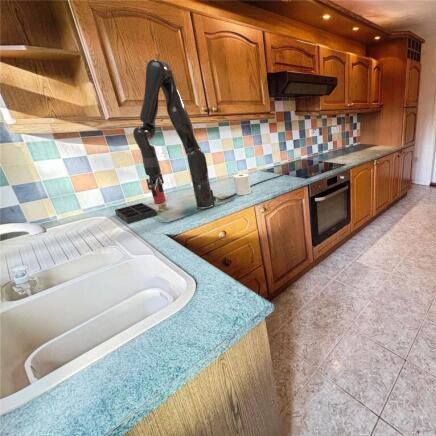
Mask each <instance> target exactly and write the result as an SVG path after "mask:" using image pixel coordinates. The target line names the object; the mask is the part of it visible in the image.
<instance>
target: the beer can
mask: <svg viewBox="0 0 436 436" xmlns="http://www.w3.org/2000/svg"><path fill="white" fill-rule="evenodd" d="M156 192H157V196H156V197H153V196H152V198H153V202H154V204H161V203H166V196H165V192H159V188H158V185H157V186H156Z"/></svg>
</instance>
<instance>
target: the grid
mask: <svg viewBox="0 0 436 436" xmlns="http://www.w3.org/2000/svg"><path fill="white" fill-rule="evenodd" d="M114 212H115V215H116V216H117V217H118V218H119V219H121V220H123V221H124V222H126V223H127V225H129V224H133V223H136V222H139V221H143V220H146V219H149V218H152V217H156V216H158V213H157V210H156V209H155V208H152V207H151V206H149V205H147V204H145V203H143V202H140V203H136V204H132V205H127V206H124V207H120V208H115V209H114Z"/></svg>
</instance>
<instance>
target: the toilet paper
mask: <svg viewBox="0 0 436 436" xmlns="http://www.w3.org/2000/svg"><path fill="white" fill-rule="evenodd" d="M233 184H234V185H233V186H234V191H235V193H236V195H237V196H246V195H250V194H251V192H252V191H251V187H250V186H251V182H250V175H249V173H237V174H234V175H233Z"/></svg>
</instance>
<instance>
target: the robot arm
mask: <svg viewBox="0 0 436 436" xmlns="http://www.w3.org/2000/svg"><path fill="white" fill-rule="evenodd" d="M172 70H173V69H172V68H171V67H170V65H169V64H168V63H167V62H166V61H164V60H160V59H150V60H149V61H148V62H147V64H146V68H145V83H144V84H145V85H144V94H143V99H142V104H141V108H140V113H139V120H140V121H141V122H142V126H136V127H135V128H133V132H132V135H133V139H134V141H135V143H136V145H137V147H138V149H139V151H140V155H141V158H142V159H141V160H142V165H143V168H144V172H145V173H144V174H145V175H146V176H148V178H146V179H145V180H146V185H147V189H148V191H151V194H152V198H153V197H156V196H157V192H156V186H157V185H158V188H159V192H164V191H165V190H164V187H163V185H164V184H165V181H164V177H163V174H162V171H161V166H160V162H159V159H158V155H157V151H156V147H155V146H154V145H151V144H150V142H149V141H152V139H154V137H155V135H156V120H157V117H158V112H159V95H160V91H162V93H163V96H164V102H165V108H166V113H167V116H168V118H169V120H170V122H171V125H172V128H173V129H174V131H175V132H176V134H177V136H178V138H179V139H180V141H181V143H182V146H183V149H184V152H185V155H186V159H187V163H188V164H187V165H188V169H189V174H190V179H191V183H192V188H193V193H194V198H195V203H196V208H197V209H198V210H207V209H211V208H212V207H214V206H216V203H215V202H217V200H218V201H225V200H228V199H230V198H232V197H234V196H236V195H237V194H236V192H235V193H233V194H231V195H229V196H227V197H225V198H220V197H217V196H215V195H214V191H213V189H212V188H211V184H210V178H209V169H208V164H207V158H206V155H205V153H204V152H203V151H202V149H201V147H200V145H199V143H198V141H197V138H196V137H195V133H194V127H193V125H192V120H191V118H190V116H189V113H188V111H187V109H186V106H185V104H184V101H183V99H182V97H181V95H180V93H179V90H178V87H177V84H176V80H175V77H174V73H173V71H172ZM282 176H284V175H283V174H280V175H277V176H273V177H271V178H266V179H263V180H261V181H258V182H255V183H253V184H250V188H252V187H253V186H256V185H259V184H261V183H263V182H266V181H269V180H273V179H276V178H279V177H282ZM164 193H165V192H164Z"/></svg>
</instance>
